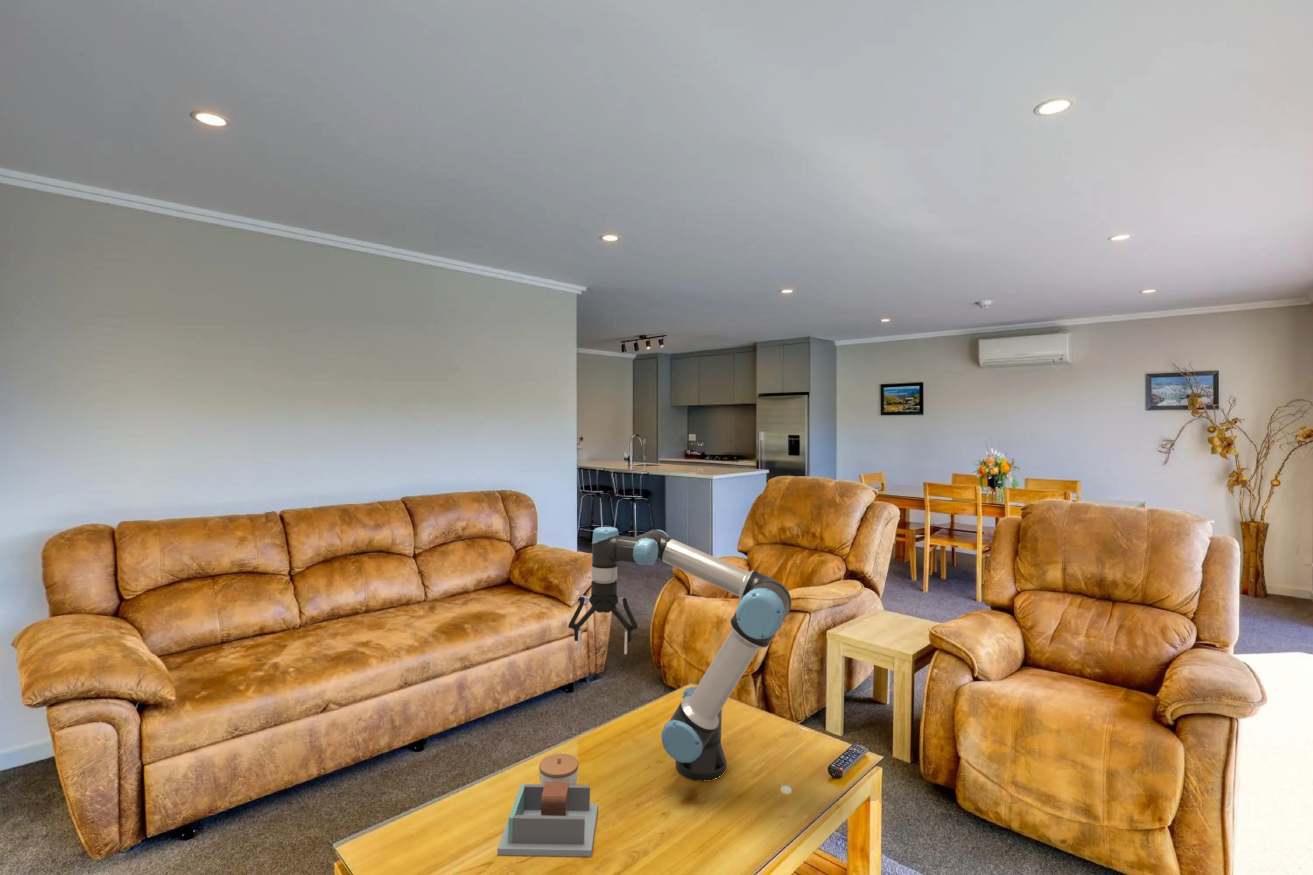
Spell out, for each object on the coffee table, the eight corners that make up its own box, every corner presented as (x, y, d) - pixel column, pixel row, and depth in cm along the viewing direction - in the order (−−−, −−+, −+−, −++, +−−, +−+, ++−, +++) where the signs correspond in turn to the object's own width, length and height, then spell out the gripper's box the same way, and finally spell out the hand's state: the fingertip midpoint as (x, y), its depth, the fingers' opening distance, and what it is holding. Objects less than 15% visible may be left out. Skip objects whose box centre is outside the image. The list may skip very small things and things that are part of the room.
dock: (597, 808, 162) (598, 780, 162) (591, 856, 144) (591, 824, 144) (514, 807, 161) (514, 779, 161) (497, 854, 143) (498, 823, 143)
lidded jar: (570, 805, 163) (571, 770, 163) (532, 799, 165) (533, 765, 165) (582, 782, 173) (583, 750, 173) (547, 777, 176) (548, 745, 175)
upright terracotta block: (568, 817, 156) (569, 781, 156) (565, 832, 150) (566, 796, 150) (544, 816, 156) (545, 781, 155) (540, 832, 150) (541, 795, 149)
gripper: (646, 578, 184) (645, 648, 184) (563, 576, 184) (562, 646, 184) (646, 584, 176) (644, 657, 177) (559, 582, 176) (558, 655, 176)
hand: (602, 652), depth 180 cm, fingers open, 13 cm apart
